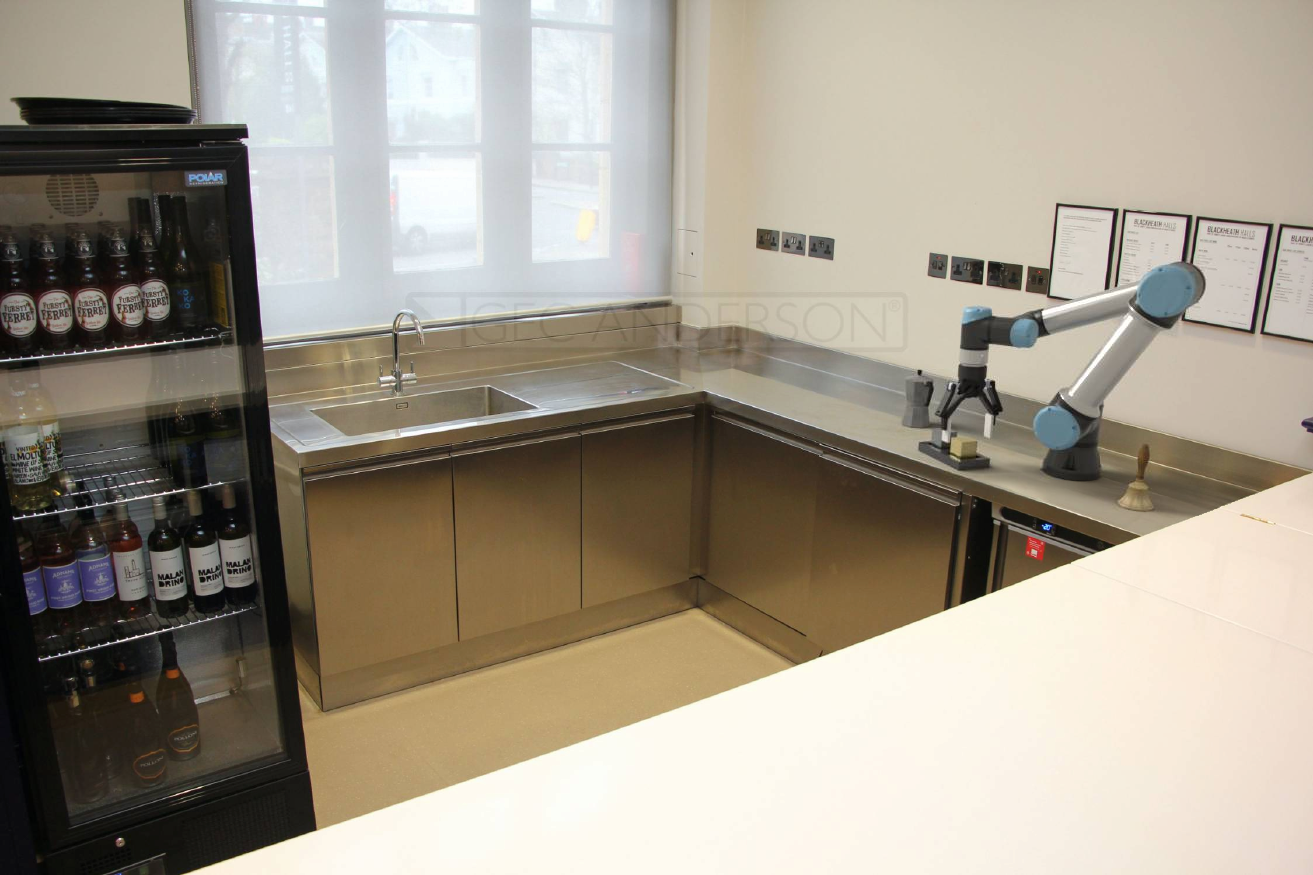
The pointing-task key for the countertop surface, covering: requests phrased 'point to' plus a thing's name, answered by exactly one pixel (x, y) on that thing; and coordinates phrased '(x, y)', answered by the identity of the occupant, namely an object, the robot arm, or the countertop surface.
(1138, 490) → the hand bell
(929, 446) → the dark grey tray
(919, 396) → the coffeepot
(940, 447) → the grey block
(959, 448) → the yellow block
